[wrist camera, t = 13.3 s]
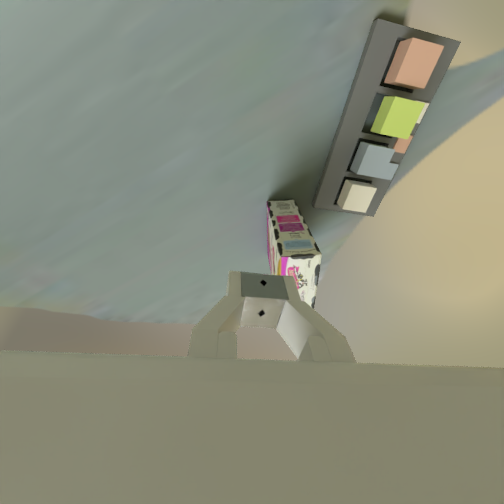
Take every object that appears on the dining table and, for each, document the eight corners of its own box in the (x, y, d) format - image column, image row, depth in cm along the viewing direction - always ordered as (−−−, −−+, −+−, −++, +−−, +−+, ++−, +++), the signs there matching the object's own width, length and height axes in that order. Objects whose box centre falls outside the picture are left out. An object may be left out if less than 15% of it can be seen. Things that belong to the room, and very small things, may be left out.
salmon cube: (395, 43, 29) (413, 37, 26) (423, 51, 29) (444, 46, 26) (379, 82, 31) (394, 81, 28) (406, 89, 32) (424, 88, 29)
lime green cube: (380, 96, 31) (395, 96, 28) (407, 102, 31) (425, 103, 28) (366, 130, 33) (379, 133, 30) (392, 135, 33) (407, 139, 30)
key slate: (357, 140, 35) (369, 144, 32) (382, 145, 35) (395, 149, 32) (347, 167, 37) (356, 174, 34) (370, 172, 37) (381, 178, 34)
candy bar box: (264, 200, 39) (279, 255, 26) (294, 198, 40) (324, 252, 26) (265, 255, 46) (278, 322, 32) (291, 253, 46) (314, 320, 32)
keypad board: (373, 21, 28) (379, 17, 27) (453, 43, 29) (462, 41, 28) (311, 204, 40) (314, 208, 39) (370, 213, 42) (374, 217, 41)
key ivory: (343, 177, 38) (352, 184, 35) (366, 181, 38) (377, 188, 35) (334, 200, 40) (342, 209, 37) (356, 204, 40) (365, 212, 37)
